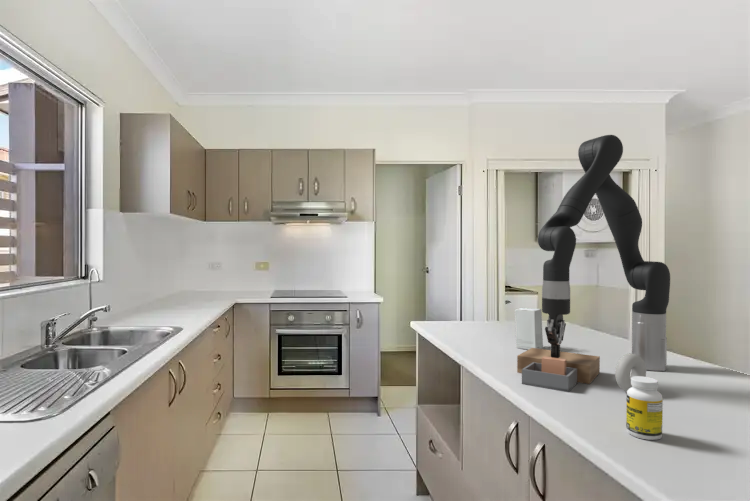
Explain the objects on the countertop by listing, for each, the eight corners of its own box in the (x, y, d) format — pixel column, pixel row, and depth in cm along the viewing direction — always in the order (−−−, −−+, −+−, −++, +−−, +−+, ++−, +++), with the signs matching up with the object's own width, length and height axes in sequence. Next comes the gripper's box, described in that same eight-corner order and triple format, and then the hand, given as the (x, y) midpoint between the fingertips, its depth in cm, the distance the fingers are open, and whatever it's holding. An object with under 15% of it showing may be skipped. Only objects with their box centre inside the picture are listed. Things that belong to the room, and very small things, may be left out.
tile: (566, 359, 127) (564, 361, 125) (566, 381, 127) (564, 383, 125) (543, 356, 130) (541, 358, 128) (543, 377, 130) (541, 379, 128)
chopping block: (599, 373, 138) (599, 356, 138) (589, 384, 126) (589, 365, 126) (531, 363, 149) (532, 347, 149) (517, 372, 138) (517, 355, 138)
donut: (624, 396, 116) (624, 356, 116) (612, 392, 119) (612, 353, 119) (649, 391, 120) (649, 352, 120) (636, 387, 123) (636, 350, 123)
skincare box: (543, 349, 171) (543, 309, 171) (535, 351, 167) (535, 310, 167) (522, 345, 177) (522, 306, 177) (514, 348, 173) (514, 308, 173)
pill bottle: (619, 429, 95) (619, 375, 95) (647, 428, 95) (648, 374, 95) (639, 441, 88) (640, 383, 88) (669, 440, 89) (670, 383, 89)
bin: (577, 383, 127) (577, 368, 127) (568, 392, 119) (568, 376, 119) (533, 375, 134) (533, 362, 134) (521, 383, 126) (521, 369, 126)
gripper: (563, 299, 124) (563, 364, 124) (575, 295, 135) (575, 355, 135) (535, 297, 128) (535, 359, 128) (548, 294, 139) (548, 351, 139)
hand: (555, 357), depth 132 cm, fingers closed
